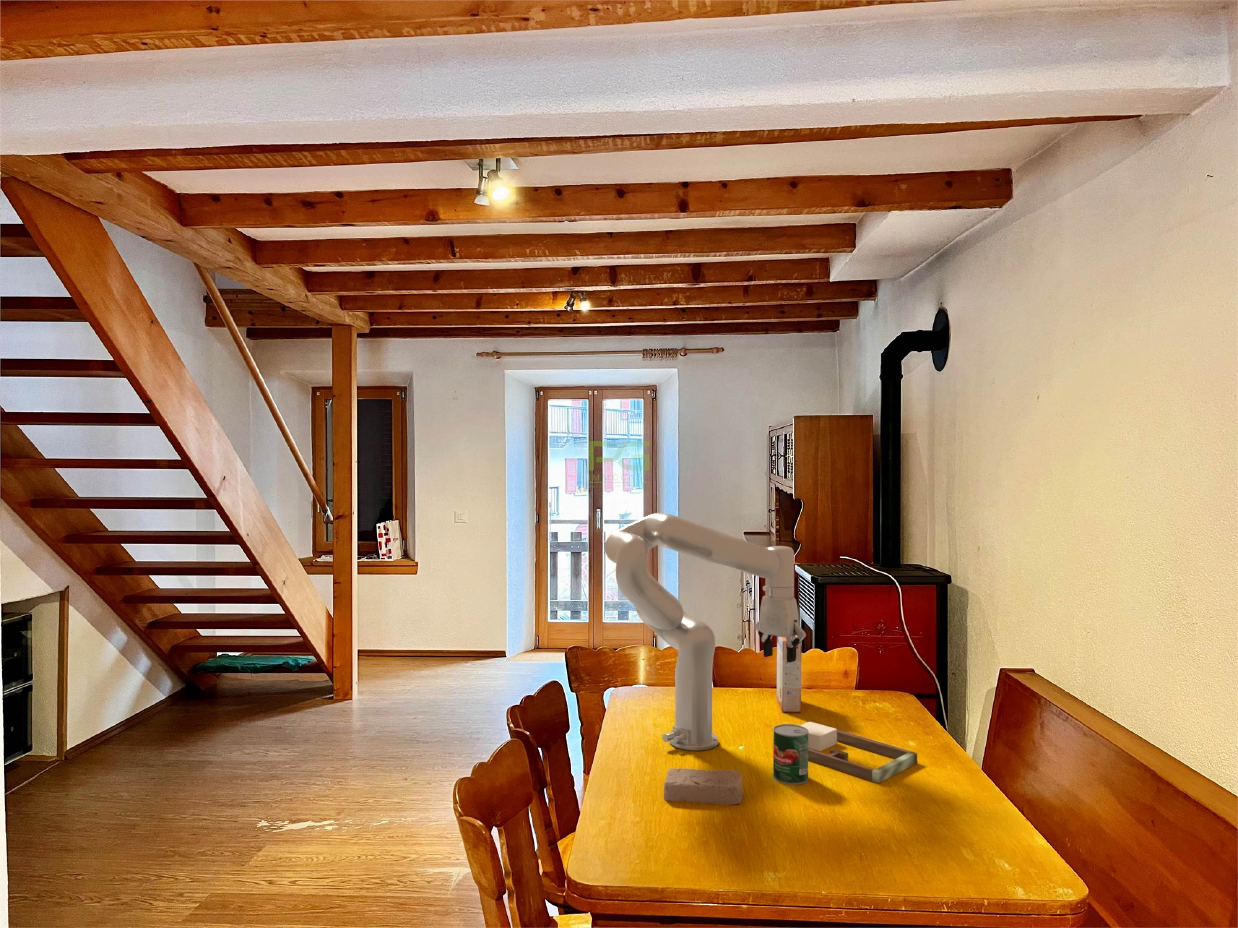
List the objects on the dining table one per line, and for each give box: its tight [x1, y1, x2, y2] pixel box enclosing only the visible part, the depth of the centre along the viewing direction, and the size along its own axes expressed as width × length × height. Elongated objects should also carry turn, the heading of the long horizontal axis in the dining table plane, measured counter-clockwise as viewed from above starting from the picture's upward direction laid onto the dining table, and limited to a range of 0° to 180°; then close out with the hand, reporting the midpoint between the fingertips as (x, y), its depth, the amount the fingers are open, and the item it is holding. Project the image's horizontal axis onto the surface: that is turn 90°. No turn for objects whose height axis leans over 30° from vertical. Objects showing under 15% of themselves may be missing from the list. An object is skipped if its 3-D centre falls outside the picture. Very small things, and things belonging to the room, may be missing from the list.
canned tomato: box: [772, 723, 809, 786], centre depth 174 cm, size 8×8×11 cm
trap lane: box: [808, 729, 918, 784], centre depth 187 cm, size 18×28×2 cm, turn 42°
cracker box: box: [776, 634, 803, 713], centre depth 227 cm, size 14×6×21 cm, turn 174°
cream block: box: [799, 721, 838, 752], centre depth 196 cm, size 8×8×4 cm
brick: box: [663, 767, 743, 805], centre depth 165 cm, size 17×8×5 cm, turn 82°
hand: (779, 658), depth 204 cm, fingers open, 6 cm apart
